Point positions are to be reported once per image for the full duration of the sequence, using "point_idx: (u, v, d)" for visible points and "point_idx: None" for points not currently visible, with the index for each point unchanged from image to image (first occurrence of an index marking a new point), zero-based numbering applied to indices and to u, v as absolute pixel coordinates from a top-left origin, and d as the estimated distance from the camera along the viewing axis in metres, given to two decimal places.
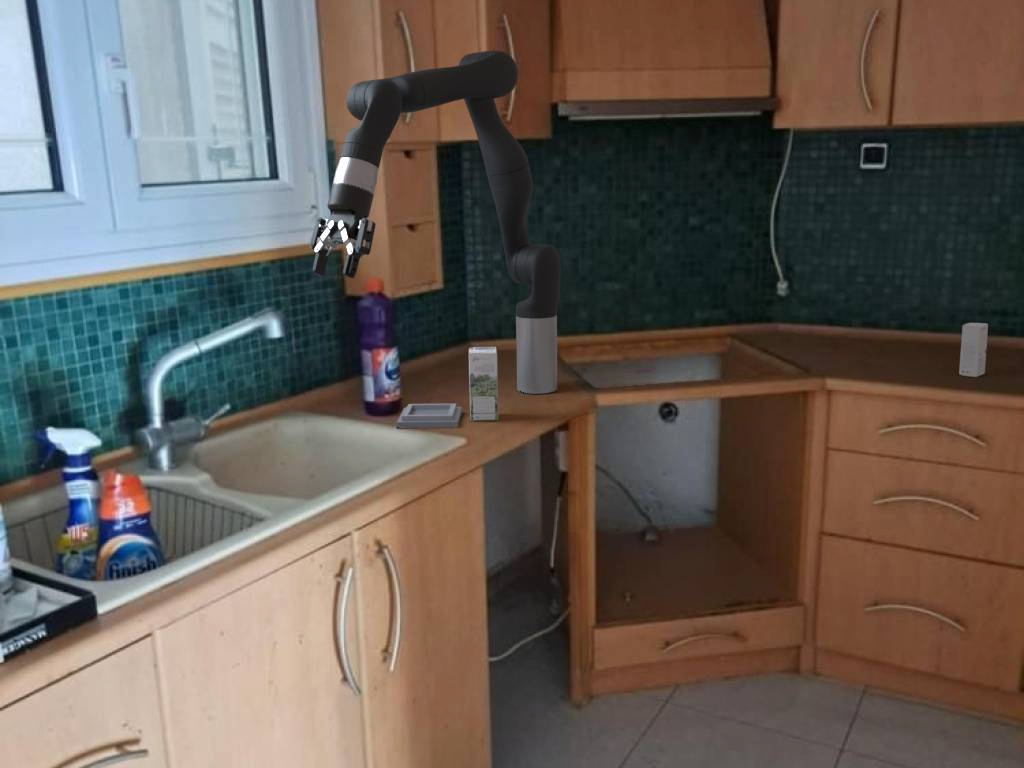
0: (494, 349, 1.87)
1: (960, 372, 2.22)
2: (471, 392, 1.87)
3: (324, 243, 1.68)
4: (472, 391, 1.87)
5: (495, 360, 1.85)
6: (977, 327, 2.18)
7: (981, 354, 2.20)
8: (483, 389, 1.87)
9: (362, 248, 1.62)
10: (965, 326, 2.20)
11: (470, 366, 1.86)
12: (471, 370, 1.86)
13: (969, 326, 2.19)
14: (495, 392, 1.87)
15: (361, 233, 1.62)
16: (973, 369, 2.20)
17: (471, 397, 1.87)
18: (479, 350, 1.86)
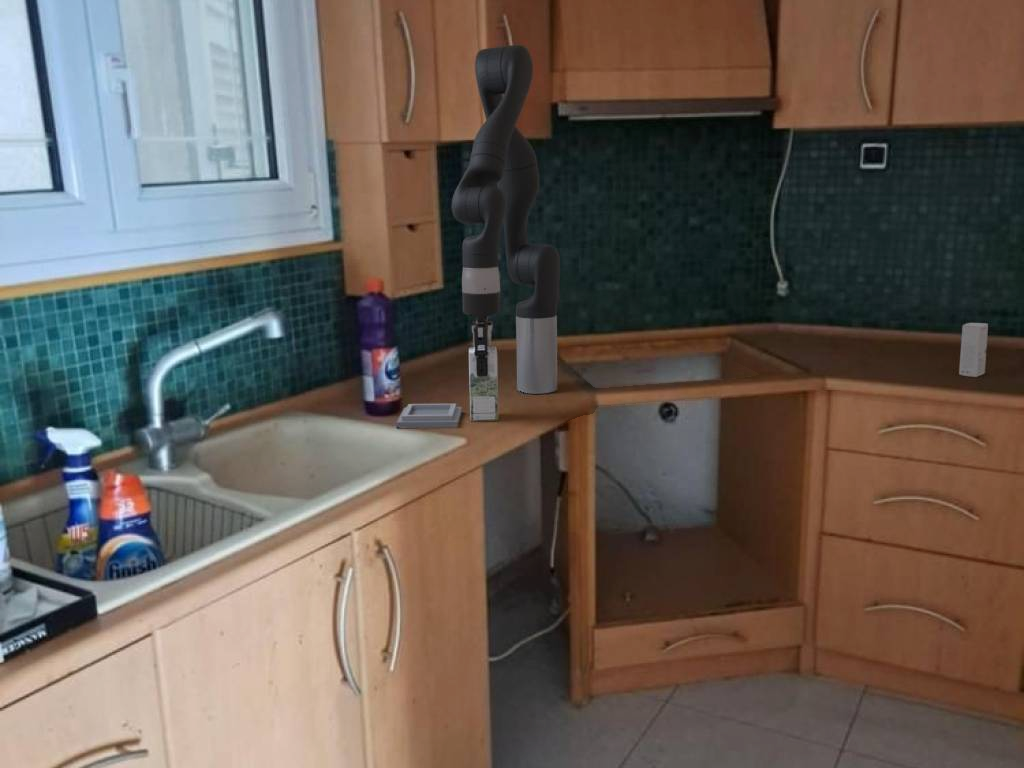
0: (494, 349, 1.87)
1: (960, 372, 2.22)
2: (471, 392, 1.87)
3: None
4: (472, 391, 1.87)
5: (495, 360, 1.85)
6: (977, 327, 2.18)
7: (981, 354, 2.20)
8: (483, 389, 1.87)
9: (477, 353, 1.82)
10: (965, 326, 2.20)
11: (470, 366, 1.86)
12: (471, 370, 1.86)
13: (969, 326, 2.19)
14: (496, 392, 1.87)
15: None
16: (973, 369, 2.20)
17: (471, 397, 1.87)
18: None
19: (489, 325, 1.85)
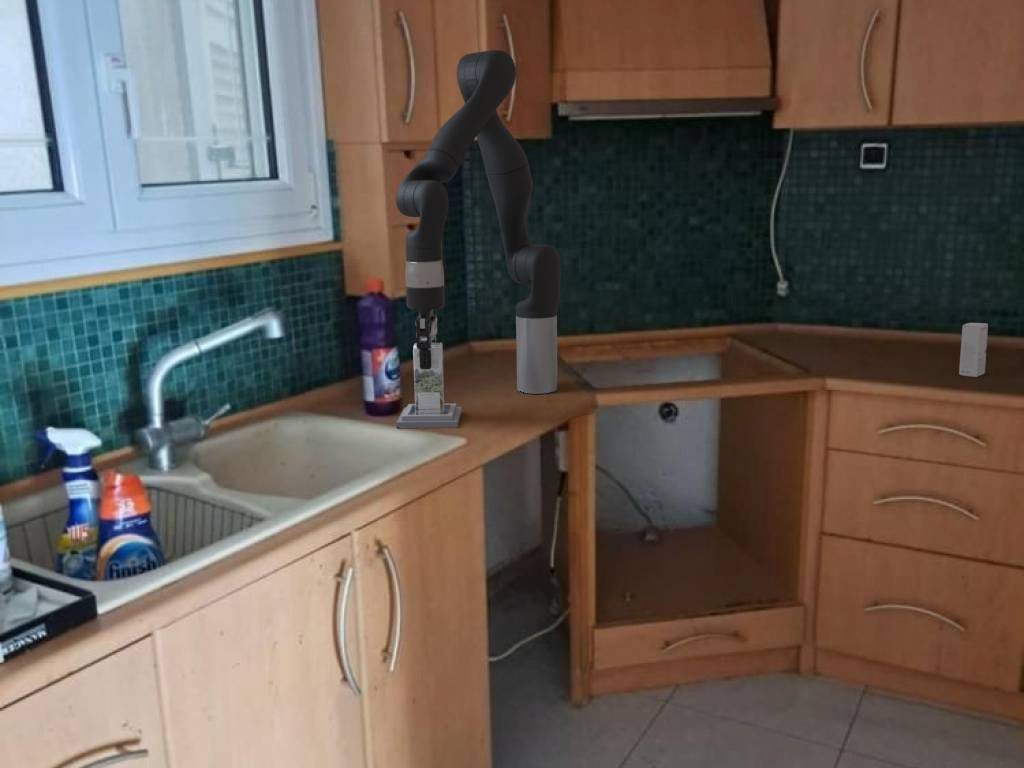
0: (439, 345, 1.86)
1: (960, 372, 2.22)
2: (416, 388, 1.86)
3: None
4: (417, 387, 1.86)
5: (439, 356, 1.84)
6: (977, 327, 2.18)
7: (981, 354, 2.20)
8: (427, 385, 1.86)
9: (419, 346, 1.80)
10: (965, 326, 2.20)
11: (414, 362, 1.85)
12: (415, 366, 1.85)
13: (969, 326, 2.19)
14: (440, 388, 1.86)
15: (416, 332, 1.80)
16: (973, 369, 2.20)
17: (416, 393, 1.86)
18: None
19: (433, 319, 1.84)
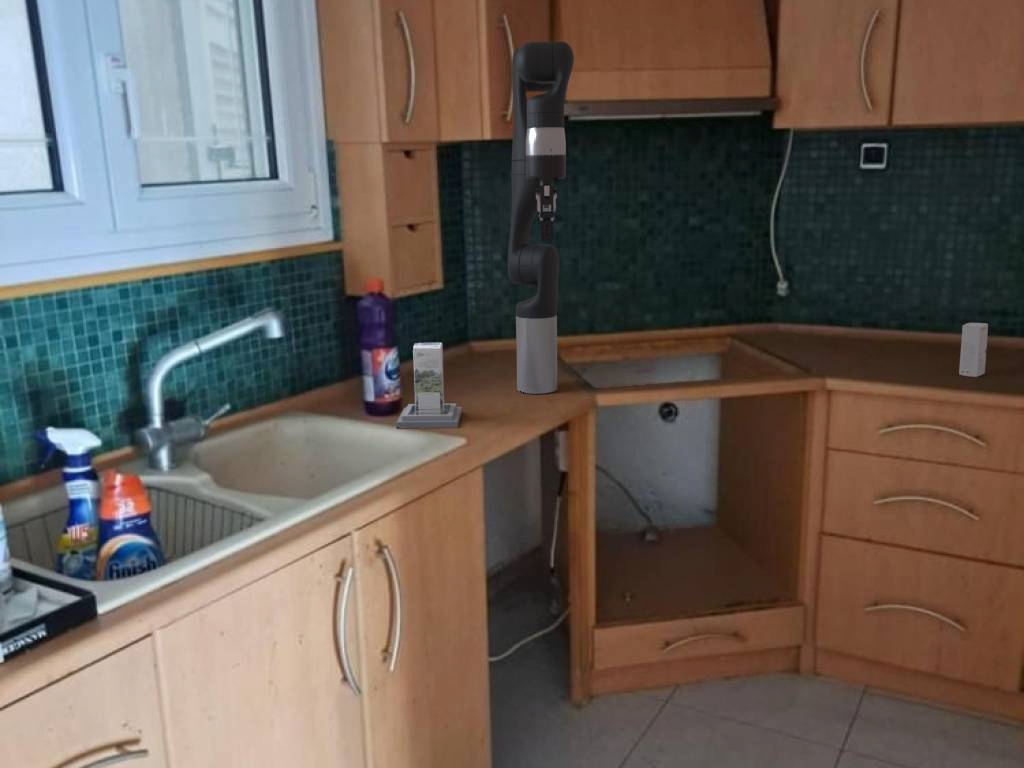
0: (439, 345, 1.86)
1: (960, 372, 2.22)
2: (416, 388, 1.86)
3: None
4: (417, 387, 1.86)
5: (439, 356, 1.84)
6: (977, 327, 2.18)
7: (981, 354, 2.20)
8: (427, 385, 1.86)
9: (543, 214, 1.72)
10: (965, 326, 2.20)
11: (414, 362, 1.85)
12: (415, 366, 1.85)
13: (969, 326, 2.19)
14: (440, 388, 1.86)
15: (540, 200, 1.72)
16: (973, 369, 2.20)
17: (416, 393, 1.86)
18: (424, 346, 1.85)
19: (554, 190, 1.76)
